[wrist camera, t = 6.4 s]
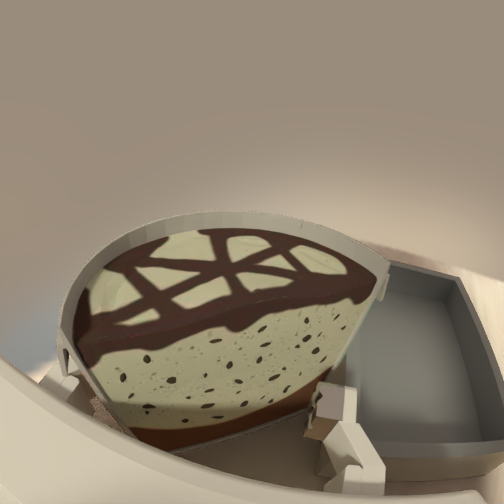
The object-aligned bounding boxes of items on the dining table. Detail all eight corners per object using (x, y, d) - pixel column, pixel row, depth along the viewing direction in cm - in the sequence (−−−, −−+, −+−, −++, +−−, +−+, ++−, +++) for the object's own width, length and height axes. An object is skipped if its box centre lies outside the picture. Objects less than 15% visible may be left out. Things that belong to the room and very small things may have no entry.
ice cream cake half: (282, 333, 21) (314, 198, 16) (330, 400, 16) (399, 260, 11) (102, 372, 16) (59, 221, 11) (120, 463, 11) (39, 329, 6)
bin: (444, 306, 25) (459, 277, 23) (484, 474, 10) (521, 448, 8) (335, 282, 27) (345, 249, 25) (315, 475, 12) (339, 452, 10)
